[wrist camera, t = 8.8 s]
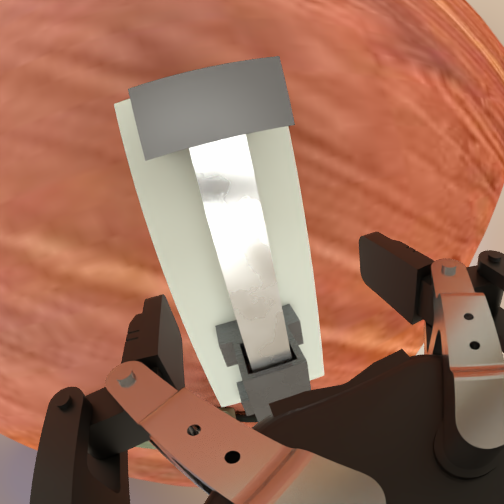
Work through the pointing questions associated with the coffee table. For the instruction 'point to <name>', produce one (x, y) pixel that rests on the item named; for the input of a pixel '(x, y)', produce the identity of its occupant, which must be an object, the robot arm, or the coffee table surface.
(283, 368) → the sleeve
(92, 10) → the coffee table surface
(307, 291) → the base board
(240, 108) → the socket
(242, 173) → the silver metal bar
